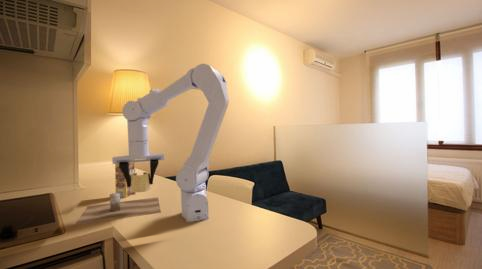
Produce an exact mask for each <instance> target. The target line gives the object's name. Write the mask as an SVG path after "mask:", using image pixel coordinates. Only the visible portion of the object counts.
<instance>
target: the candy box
mask: <svg viewBox="0 0 482 269" xmlns="http://www.w3.org/2000/svg"><path fill="white" fill-rule="evenodd" d="M133 160H136V159H133ZM130 161H131V160H130ZM114 168H115V173H114V176H115V178H114V179H115V183H114V184H115V193H120V199H126V198H128V197H130V196H132V195H137V193H135V192H131V191H130V187H127V182H126V179H125V177H124V174H123V173H122V171H121V169H120V167H119V163H117V164H114ZM133 173H136V162H129V176H130V174H133Z"/></svg>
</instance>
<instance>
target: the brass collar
mask: <svg viewBox="0 0 482 269" xmlns="http://www.w3.org/2000/svg"><path fill="white" fill-rule="evenodd" d="M142 173H143V174H139V175H138V174H137V172H135V173H133V174H130V191H131V192H135V193H136V194H137V193H144V192H148V191H150V190H151V189H152V188H151V185H150V171H143V172H142Z"/></svg>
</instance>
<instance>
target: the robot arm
mask: <svg viewBox="0 0 482 269" xmlns="http://www.w3.org/2000/svg"><path fill="white" fill-rule="evenodd" d="M227 84H228V82H227V80H226V79H225V77H224V74H222V73H221V72H220V71H218V70H216V69H215V68H213V67H212V66H211V65H210V64H207V63H200V64H197V65H196V66H195V67H193V68H190V69H189V70H187V72H186V73H185V74H184V75H182V76H181V77H180V78H178V79H176V80H175V81H174V82H171V84H169V85H168V86H166V87H164V88H163V89H162V90H161V89H160V88H156V89H153V88H152V89H150V90H148V91H149V93H147V94H145V95H144V96H141V97H138V98H136V99H137V100H136V101H134V100H128V101H127V102H126V103H125V104H123V107H122V109H121V110H122V116H123V117H124V119H126V120H127V141H128V143H127V144H128V155H122V156H121V155H120V156H113V157H111V158H112V161H111V162H112V165H115V164H117V163H119V167H120V169H121V171H122V173H123V174H124V177H125V179H126V182H127V187H130V176H129V162H135V163H138V162H142V163H143V162H149V168H150V169H149V170H150V171H149V173H150V186H151V185H154V178H155V174H156V171H157V168H158V166H159V161H164V160H165V154H164V153H150V151H149V150H150V149H149V148H150V147H149V144H150V143H149V120H150V119H151V117H152V115H153V114H155V113H157V112H158V111H160V110H162V109H164V108H166V107H168V104H169V101H170V100H172V99H174V98H176V97H178V96H180V95H182V94H184V93H186V92H187V91H190V90H200V91H201V92H202V93H203V95H204V96H205V99H206V100H207V102H208V105H207V107H206V110H205V114H204V116H203V119H202V122H201V124H200V128H199V129H198V133H197V136H196V139H195V141H194V144H193V147H192V150H191V153H190V155H189V156H188V158H187V159H186V160H185V162H184V163H183V166H182V168H181V169H180V170H179V171H178V172H177V173H176V176H175V183H176V185H177V187H178V188H179V189H180V198H181V199H180V202H181V207H180V208H181V216H182V218H183V219H185V221H186V223H192V222H199V221H203V220H209V219H210V215H209V200H208V197H207V185H206V181H207V180H208V179H209V168H210V160H209V158H210V156H211V153H212V152H213V151H212V150H213V147H214V146H215V143H216V139H217V137H218V133H219V131H220V129H221V126H222V123H223V120H224V117H225V115H226V112H227V109H228V106H229V103H230V100H229V93H228V88H227V87H228V86H227ZM133 159H135V160H133ZM130 160H131V161H130Z"/></svg>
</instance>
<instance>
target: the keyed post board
mask: <svg viewBox="0 0 482 269" xmlns="http://www.w3.org/2000/svg"><path fill="white" fill-rule="evenodd" d="M160 213H162V211H161V207H160V200H159V197H158V196H156V197H147V198H139V199H133V200H124V201H121V198H120V193H116V192H113V193H111V194H109V203H101V204H94V205H88V206H87V207H86V208H85V209H84V211H83V212H82V213H81V215H80V217H79V218H78V219H77V221H76V222H75V223H74V227H75V226H80V225H86V224H87V225H88V224H94V223H95V224H96V223H99V222H101V223H102V222H108V221H114V220H119V219H120V220H121V219H126V218H133V217H140V216H147V215H154V214H160Z"/></svg>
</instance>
